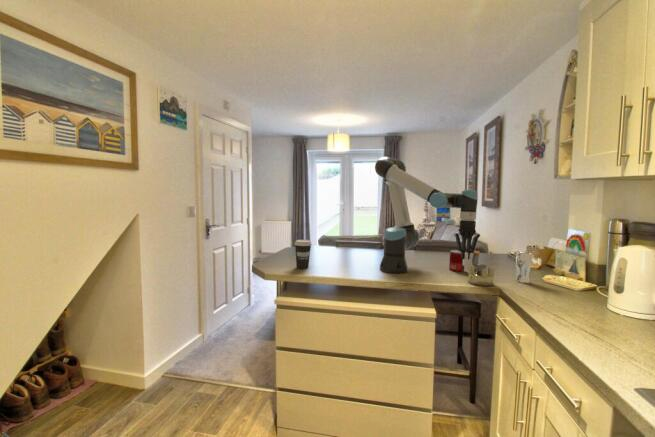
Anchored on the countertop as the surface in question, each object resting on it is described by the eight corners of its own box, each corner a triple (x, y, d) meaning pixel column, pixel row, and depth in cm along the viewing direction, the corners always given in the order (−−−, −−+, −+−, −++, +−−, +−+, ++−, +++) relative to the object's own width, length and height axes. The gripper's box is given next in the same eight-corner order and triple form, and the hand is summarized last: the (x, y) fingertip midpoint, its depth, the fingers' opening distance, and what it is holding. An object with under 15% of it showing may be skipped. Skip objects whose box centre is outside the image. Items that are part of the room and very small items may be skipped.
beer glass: (530, 284, 160) (532, 254, 159) (513, 281, 164) (516, 252, 162) (530, 281, 166) (532, 252, 165) (514, 279, 170) (516, 250, 168)
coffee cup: (290, 268, 178) (291, 241, 176) (298, 264, 186) (299, 239, 185) (306, 270, 174) (307, 242, 173) (313, 266, 183) (314, 240, 182)
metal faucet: (496, 286, 152) (498, 258, 151) (471, 285, 154) (473, 256, 153) (484, 277, 170) (486, 251, 169) (462, 275, 172) (464, 250, 171)
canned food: (465, 272, 181) (466, 252, 180) (450, 271, 182) (451, 251, 182) (462, 269, 188) (463, 250, 188) (448, 268, 190) (449, 249, 189)
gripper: (457, 220, 163) (455, 266, 165) (483, 221, 163) (480, 267, 165) (452, 219, 171) (449, 263, 173) (477, 219, 171) (474, 264, 172)
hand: (464, 265), depth 169 cm, fingers closed
